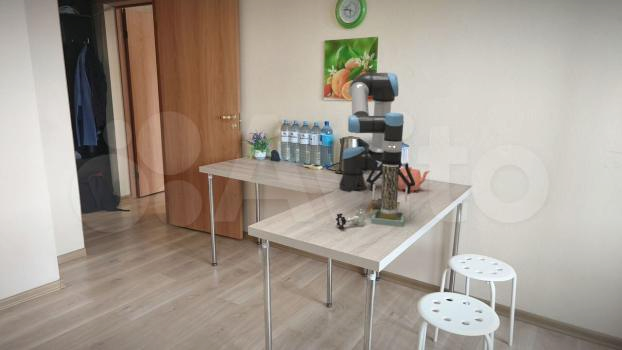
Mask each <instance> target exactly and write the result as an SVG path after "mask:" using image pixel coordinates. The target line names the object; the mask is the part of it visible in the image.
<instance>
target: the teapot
mask: <svg viewBox="0 0 622 350" xmlns="http://www.w3.org/2000/svg"><path fill="white" fill-rule="evenodd" d="M400 170H401V172H402V173H403V174H404V176H405V177H406V178H407V180H408V181H409V182H410V183H411V181H410V179H409V176H408V174H407V172H406V169H405V168H404V167H401V168H400ZM409 170H410V172H411V174H412V176H413V179H414V181H415V186H411V189H410V193H415V191H418V190H419V188H420V187H421V185H422V184H423V183H424V182H425V180H426V177H427V174H428V173H430V172H431V170H427V171H424V172H423V174H422V173H421V170H420V169H415V168H412V166H409ZM421 174H422V175H421ZM406 186H407V185H406V183H405V182H404V181H403V180H402V178H401V177H400V176H399V179H398V192H399V191H400V192H404V190H406Z"/></svg>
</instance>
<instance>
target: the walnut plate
mask: <svg viewBox="0 0 622 350" xmlns="http://www.w3.org/2000/svg"><path fill="white" fill-rule="evenodd" d="M373 200H374V201H373V203H372V210H375V209H376V210H377V200H378V199H376V198H374V199H373Z"/></svg>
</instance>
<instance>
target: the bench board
mask: <svg viewBox="0 0 622 350" xmlns="http://www.w3.org/2000/svg"><path fill="white" fill-rule="evenodd" d="M373 201H374V199H371V201H370V203H369V204H368V207H367V209H366V211H365V214H372V215H373V214H374V212H375V210H372V203H373ZM400 204H401V202H399V201H397V212H399V208H400Z"/></svg>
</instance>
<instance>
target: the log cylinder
mask: <svg viewBox="0 0 622 350" xmlns="http://www.w3.org/2000/svg"><path fill="white" fill-rule="evenodd" d="M382 170H383V173H382V175H381V192H380V193H381V196H380V197H381V198H380V199H381V215H380V218H379V219H389V220H397V217H396V216H397V202H398V196H399V195H398V194H399V193H398V192H399V191H398V190H399V188H398V179H399V175H398V170H399V165H395V164H383V168H382Z"/></svg>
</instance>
